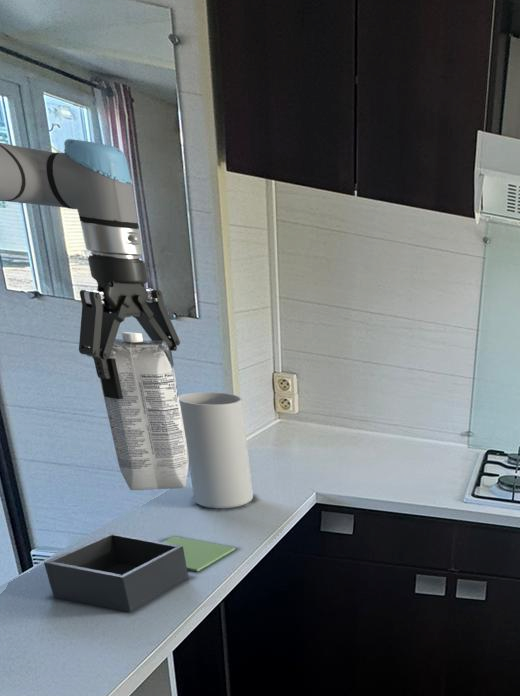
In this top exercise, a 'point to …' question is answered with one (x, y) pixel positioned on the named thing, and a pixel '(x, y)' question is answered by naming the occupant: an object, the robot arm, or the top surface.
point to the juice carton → (147, 416)
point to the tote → (117, 571)
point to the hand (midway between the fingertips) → (141, 391)
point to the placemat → (199, 552)
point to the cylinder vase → (217, 449)
